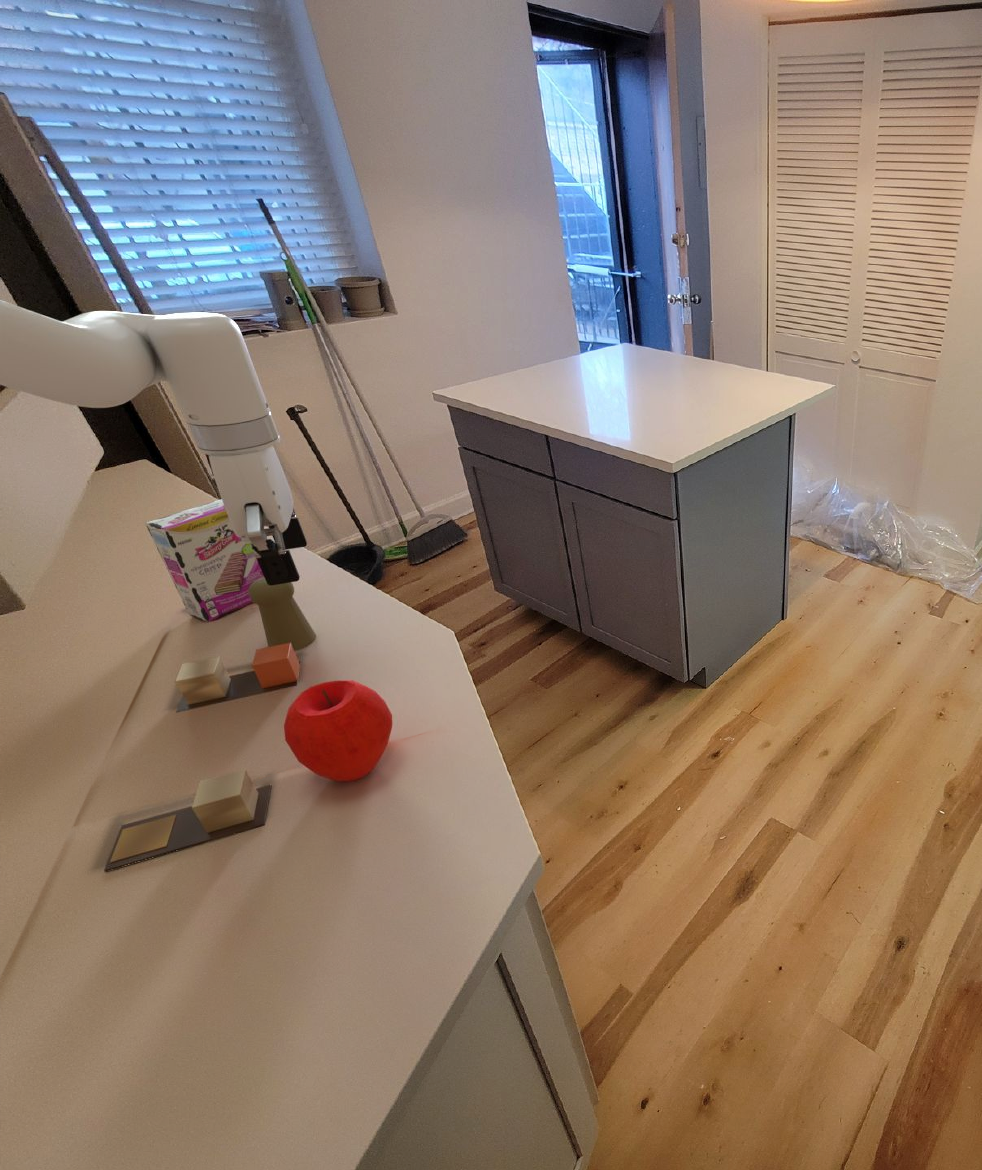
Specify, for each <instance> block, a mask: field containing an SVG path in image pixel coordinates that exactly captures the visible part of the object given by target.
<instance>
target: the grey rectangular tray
mask: <svg viewBox="0 0 982 1170" xmlns="http://www.w3.org/2000/svg"><path fill="white" fill-rule="evenodd" d="M222 661H223V660H222V659H221V657H220V656H217V657H216V656H215V657H211V658H206V659H200V660H196V661H191V662H186V663H182V664H181V665H180V667H179V671H178V673H177V674H176V675H177V676H176V678H175V681H174V682H175V685H176V686H177V688H178V690H179V691H180V694H181V695H182V697H181V699H180V702H179V704H178V707H177V709H176V713H180V712H185V711H189V710H193V709H199V708H203V707H207V706H212V705H216V704H220V703H224V702H230V701H233V700H238V699H243V698H247V697H253V696H257V695H261V694H265V693H271V692H274V691H279V690H283V689H288V688H293V687H296V686H298V682H299V679H298V680H297V681H294V682H289V683H285V684H280V685H276V686H271V687H267V688H262V686H261V684H260V682H259V680H258V678H257V675H256V673H255V671H254V670H251V671H247V672H242V673H238V674H237V673H236V674H233V675H229V672H228V671H227V669H226V666H225V665H224V663H223V662H222ZM298 661H299V663H300V665H301V663H302V661H301V660H298ZM300 669H301V667H300V668H299V672H300V671H301V670H300ZM299 676H300V673H299V674H298V678H299Z"/></svg>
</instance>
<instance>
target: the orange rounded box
mask: <svg viewBox="0 0 982 1170" xmlns="http://www.w3.org/2000/svg"><path fill="white" fill-rule="evenodd" d="M299 661H300V660H299V659H298V656H297V654H296V651H294V649H293V647H292V644H291V643H286V644H281V645H276V646H271V647H268V646H267V647H262V648H257V649H255V652H254V656H253V660H252V665H251V667H252V670H253V671H255V673H256V675H257V678H258V680H259V682H260V684H261V686H262V688H267V687H271V686H276V685H280V684H285V683H289V682H294V681H297V680H298V681H299V677H298V674H299V675H300V671H299V668H300V669H301V664H300V663H299Z"/></svg>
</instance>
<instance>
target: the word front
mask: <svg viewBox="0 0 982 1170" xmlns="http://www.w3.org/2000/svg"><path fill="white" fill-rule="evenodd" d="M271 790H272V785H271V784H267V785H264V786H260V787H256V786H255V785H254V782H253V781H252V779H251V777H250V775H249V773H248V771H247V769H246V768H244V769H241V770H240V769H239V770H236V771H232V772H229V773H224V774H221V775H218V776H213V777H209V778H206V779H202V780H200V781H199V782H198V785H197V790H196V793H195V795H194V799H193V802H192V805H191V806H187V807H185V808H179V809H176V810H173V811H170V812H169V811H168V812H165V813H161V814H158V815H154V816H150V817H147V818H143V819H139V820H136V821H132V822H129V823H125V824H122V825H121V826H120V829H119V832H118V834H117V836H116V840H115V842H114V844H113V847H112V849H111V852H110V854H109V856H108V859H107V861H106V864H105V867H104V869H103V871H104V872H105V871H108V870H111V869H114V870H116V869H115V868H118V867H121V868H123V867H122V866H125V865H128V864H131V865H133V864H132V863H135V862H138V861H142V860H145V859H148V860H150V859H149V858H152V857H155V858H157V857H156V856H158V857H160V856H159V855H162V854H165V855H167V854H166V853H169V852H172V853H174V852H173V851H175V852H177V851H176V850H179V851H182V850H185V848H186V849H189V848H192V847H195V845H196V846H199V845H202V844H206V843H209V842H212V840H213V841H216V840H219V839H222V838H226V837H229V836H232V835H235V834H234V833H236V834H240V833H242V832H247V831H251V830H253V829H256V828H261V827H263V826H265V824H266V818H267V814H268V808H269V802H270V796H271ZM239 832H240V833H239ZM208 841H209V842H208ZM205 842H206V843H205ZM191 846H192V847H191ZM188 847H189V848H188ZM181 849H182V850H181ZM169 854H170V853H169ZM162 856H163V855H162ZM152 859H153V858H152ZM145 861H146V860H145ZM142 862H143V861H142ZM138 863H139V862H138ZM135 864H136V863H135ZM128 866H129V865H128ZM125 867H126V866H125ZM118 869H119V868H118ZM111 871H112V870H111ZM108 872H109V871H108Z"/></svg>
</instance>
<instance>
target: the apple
mask: <svg viewBox="0 0 982 1170" xmlns="http://www.w3.org/2000/svg"><path fill="white" fill-rule="evenodd" d="M392 729H393V714H392V712H391V710H390V708H389V707H388V704H387V703H386V701H385V700H384V699H383V698H382V696H381V695H380V694H379V693H378V692H377V691H376V690H374V689H372V688H371V687H369V686H367V685H364V684H362V683H360V682H358V681H356V680H353V679H351V680H350V679H347V680H332V681H325V682H320V683H317V684H315V685H312V686H310V687H308V688H307V689H305V690H303V691H302V692H301V693H300V694H298V696H296V698H295V699H294V700H293V702H291V704H290V706H289V707H288V709H287V713H286V716H285V720H284V724H283V732H284V740H285V743H286V744H287V745H288V747H289V749H290V750H291V752H292V754H293V755H294V757H295V758H296V760H297V761H298V762H299V764H301V765H302V766H304V767H305V768H307V769H308V770H309V771H310V772H312V773H314V774H315V775H317V776H320V777H322V778H325V779H328V780H332V781H338V782H351V781H355V780H360V779H361V778H363V777H365V776H367V775H368V774H369V773H370V772H371V771H372V770H373V769H374V768H375V767H376V766H377V765H378V764H379V762H380V761H381V758H382V756H383V754H384V752H385V750H386V748H387V746H388V744H389V741H390V737H391V734H392Z"/></svg>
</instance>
